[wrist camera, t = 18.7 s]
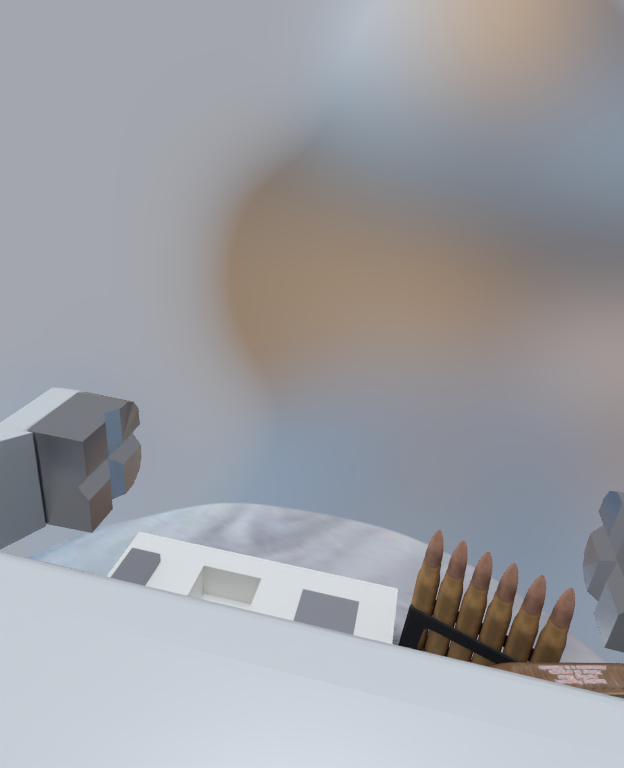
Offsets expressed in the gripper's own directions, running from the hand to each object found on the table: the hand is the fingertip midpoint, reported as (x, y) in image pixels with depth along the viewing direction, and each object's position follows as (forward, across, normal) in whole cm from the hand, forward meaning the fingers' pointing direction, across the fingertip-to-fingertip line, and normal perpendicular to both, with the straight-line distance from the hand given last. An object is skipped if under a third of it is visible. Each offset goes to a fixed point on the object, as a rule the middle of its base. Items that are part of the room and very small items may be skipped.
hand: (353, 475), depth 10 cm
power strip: (+22, +8, +32) cm, 40 cm away
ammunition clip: (+23, -9, +32) cm, 41 cm away
